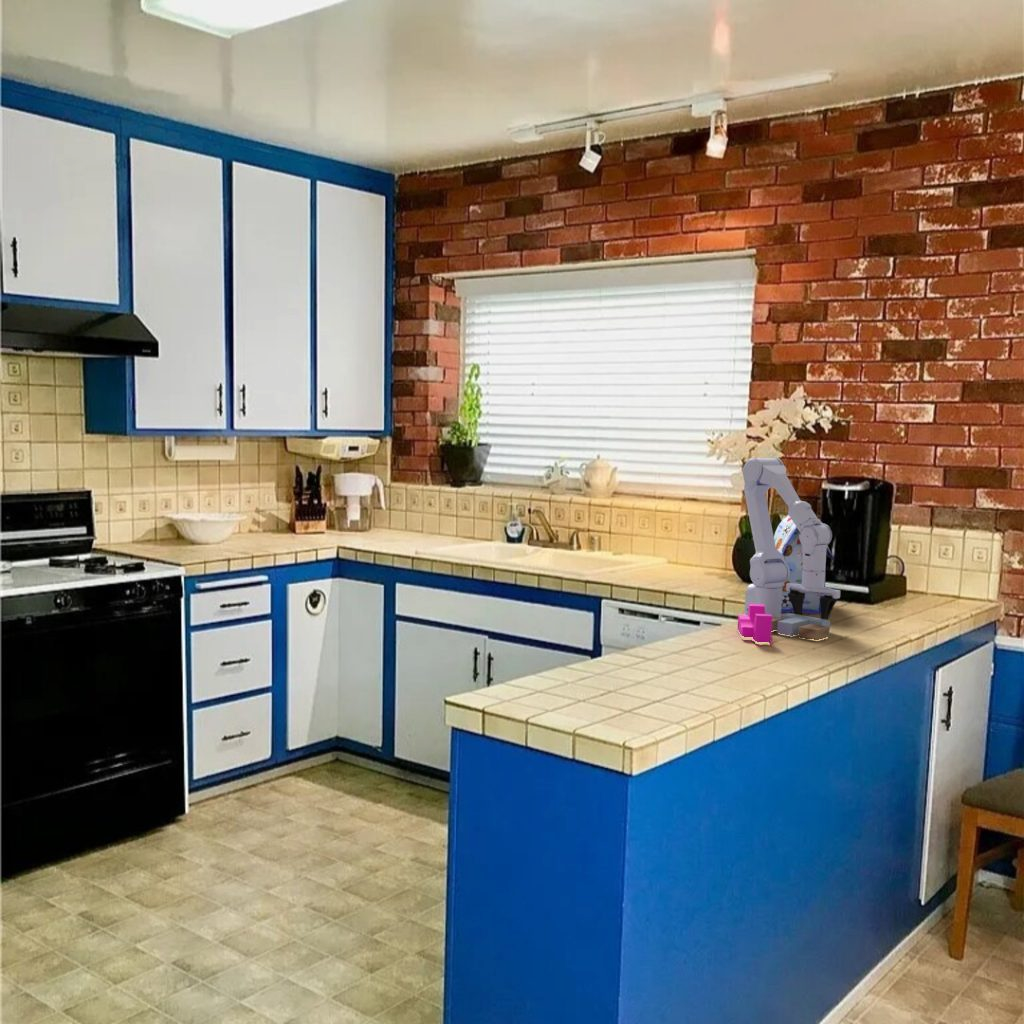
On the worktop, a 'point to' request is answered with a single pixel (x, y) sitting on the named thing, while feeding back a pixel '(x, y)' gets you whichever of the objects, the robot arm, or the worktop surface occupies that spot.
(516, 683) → the worktop surface
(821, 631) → the walnut slot
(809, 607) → the lunch bag
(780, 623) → the T block
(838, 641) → the worktop surface
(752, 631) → the toy block
